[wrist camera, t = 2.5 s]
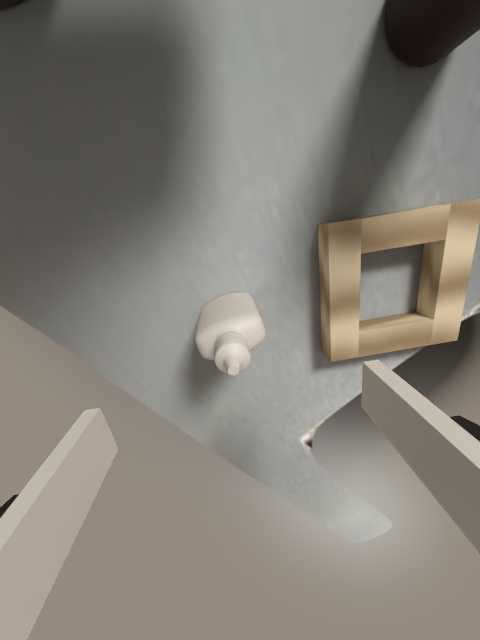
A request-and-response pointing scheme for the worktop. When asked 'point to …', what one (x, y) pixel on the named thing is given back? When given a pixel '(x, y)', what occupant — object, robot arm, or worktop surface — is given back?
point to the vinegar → (429, 28)
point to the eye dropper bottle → (229, 331)
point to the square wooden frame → (434, 287)
